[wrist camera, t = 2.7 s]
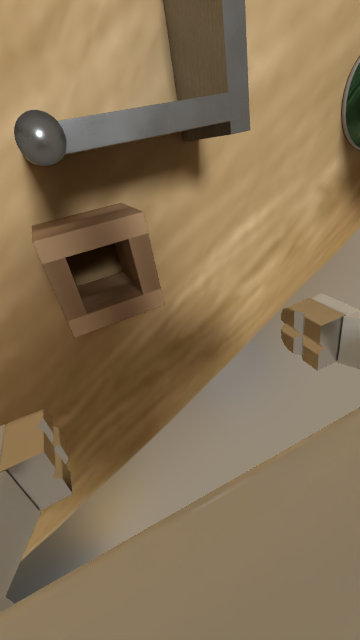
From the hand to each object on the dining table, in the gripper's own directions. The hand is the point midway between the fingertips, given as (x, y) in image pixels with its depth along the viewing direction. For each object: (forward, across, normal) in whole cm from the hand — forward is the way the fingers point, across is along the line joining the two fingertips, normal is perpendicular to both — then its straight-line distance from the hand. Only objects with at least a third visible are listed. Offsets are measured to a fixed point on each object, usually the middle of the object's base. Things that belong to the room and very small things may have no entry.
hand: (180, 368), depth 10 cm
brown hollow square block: (+15, 0, 0) cm, 15 cm away
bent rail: (+15, -3, -10) cm, 18 cm away
